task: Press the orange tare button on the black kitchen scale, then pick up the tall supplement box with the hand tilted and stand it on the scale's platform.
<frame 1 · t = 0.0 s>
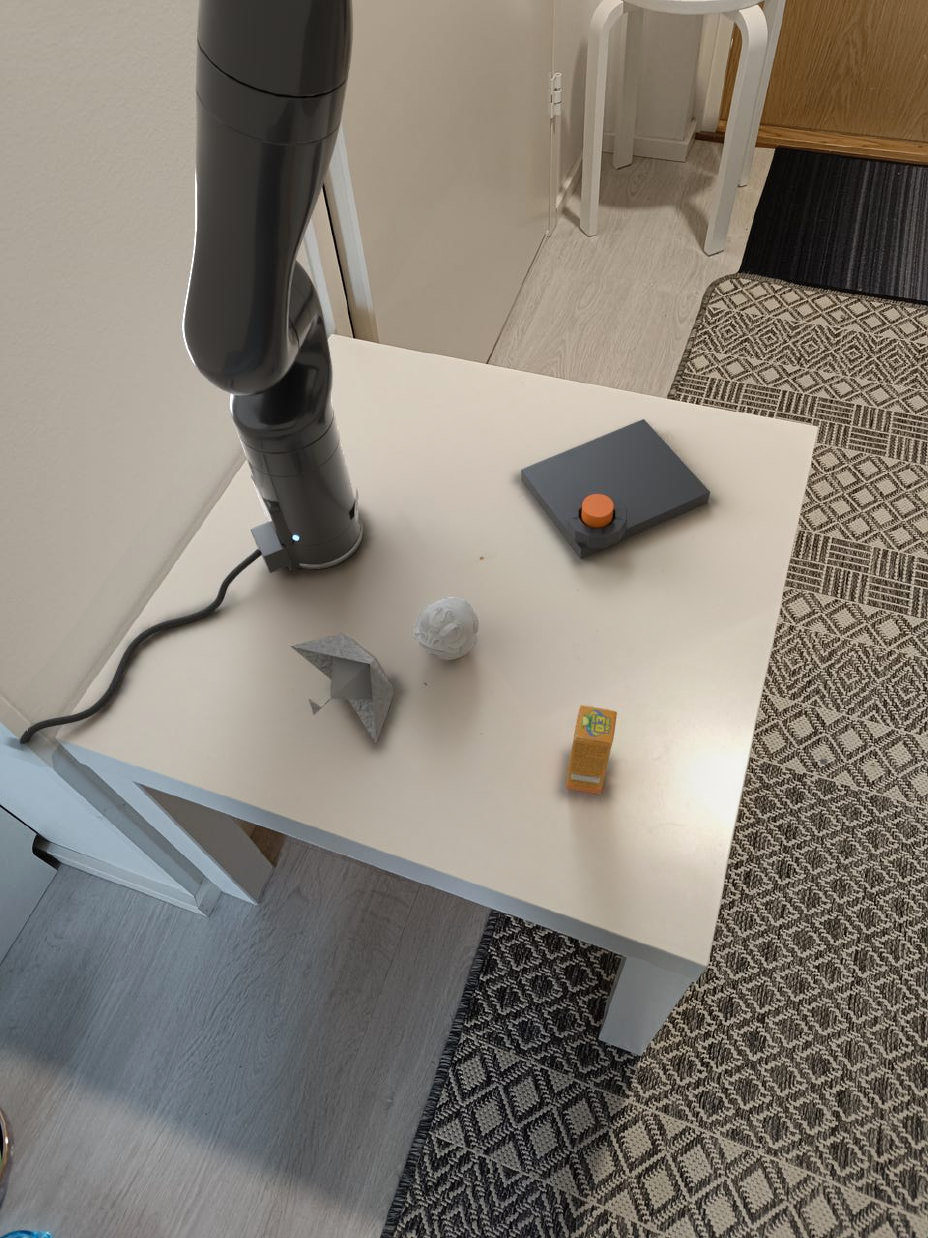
tare button: (597, 510, 93), point 4 cm above the table, slide at 0.1 cm
supplement box: (587, 777, 81), on the table
scale: (612, 491, 100), on the table
gray faceted winged figurine: (347, 697, 87), on the table
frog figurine: (449, 650, 89), on the table
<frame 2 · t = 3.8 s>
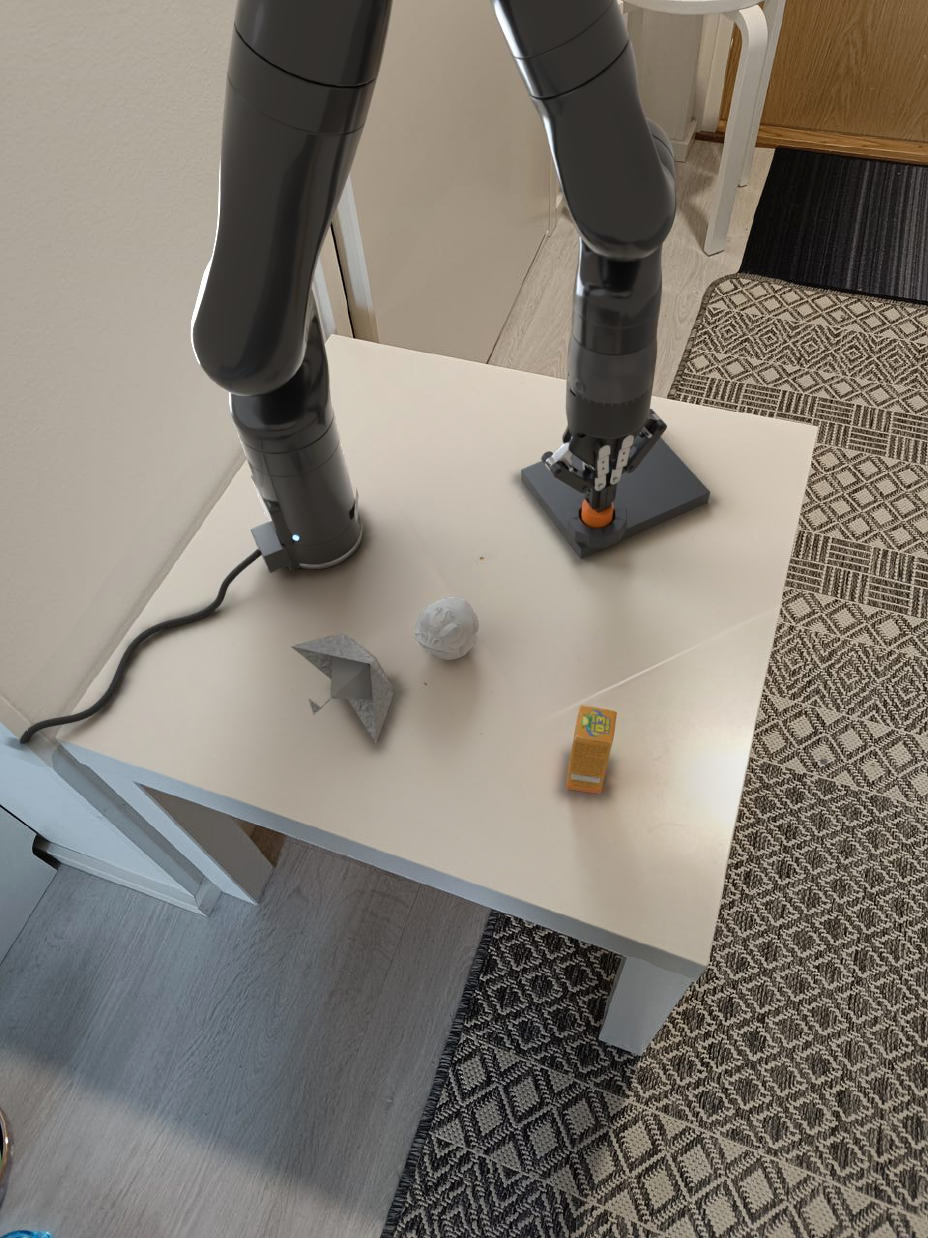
hand: (599, 504, 92), 5 cm above the table, tool pointing down, fingers closed
tare button: (597, 510, 93), point 4 cm above the table, slide at 0.1 cm, touching gripper
everything else where it was.
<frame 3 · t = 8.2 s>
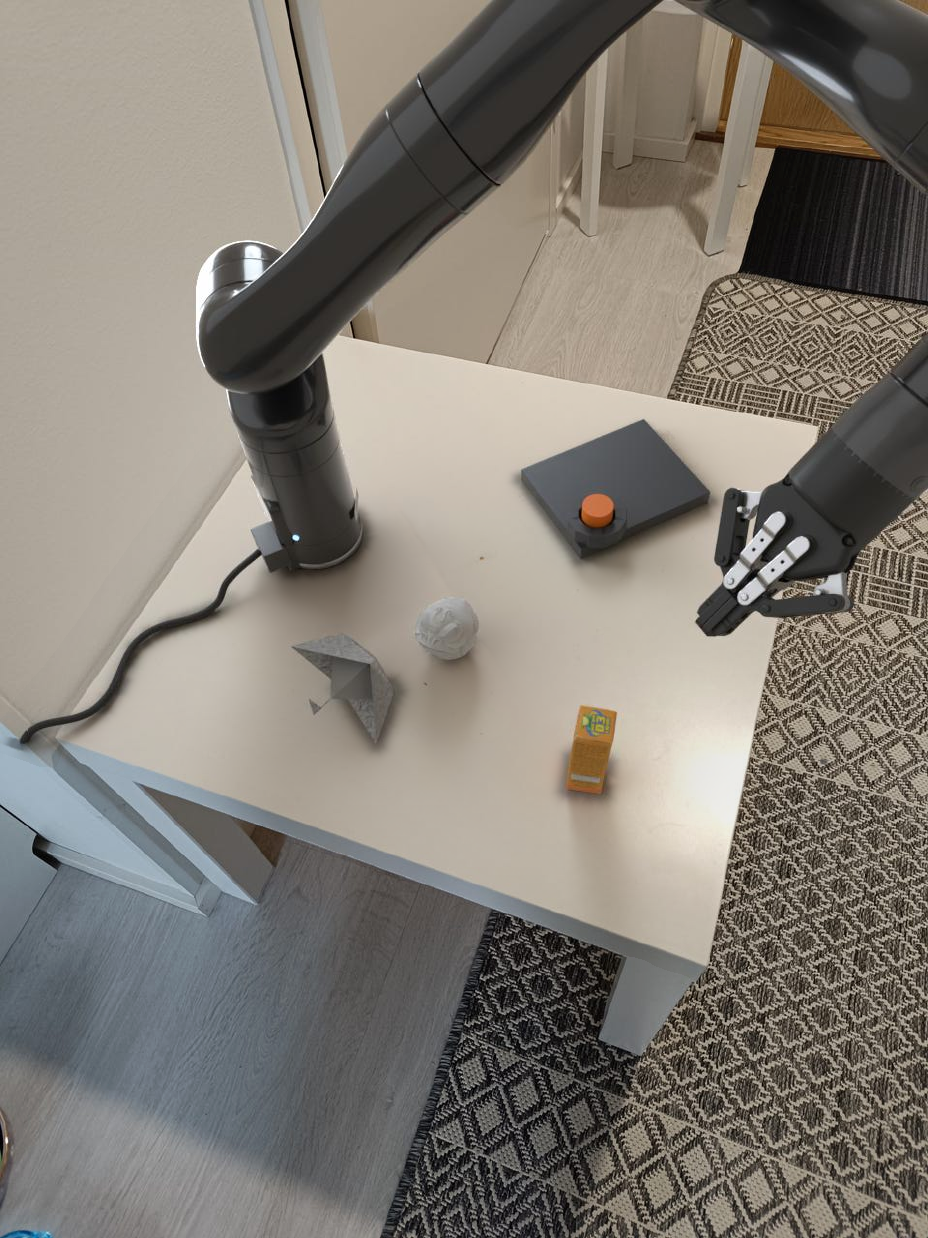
hand: (705, 629, 70), 16 cm above the table, tool tilted 40°, fingers closed
tare button: (597, 510, 93), point 4 cm above the table, slide at 0.1 cm
everything else where it was.
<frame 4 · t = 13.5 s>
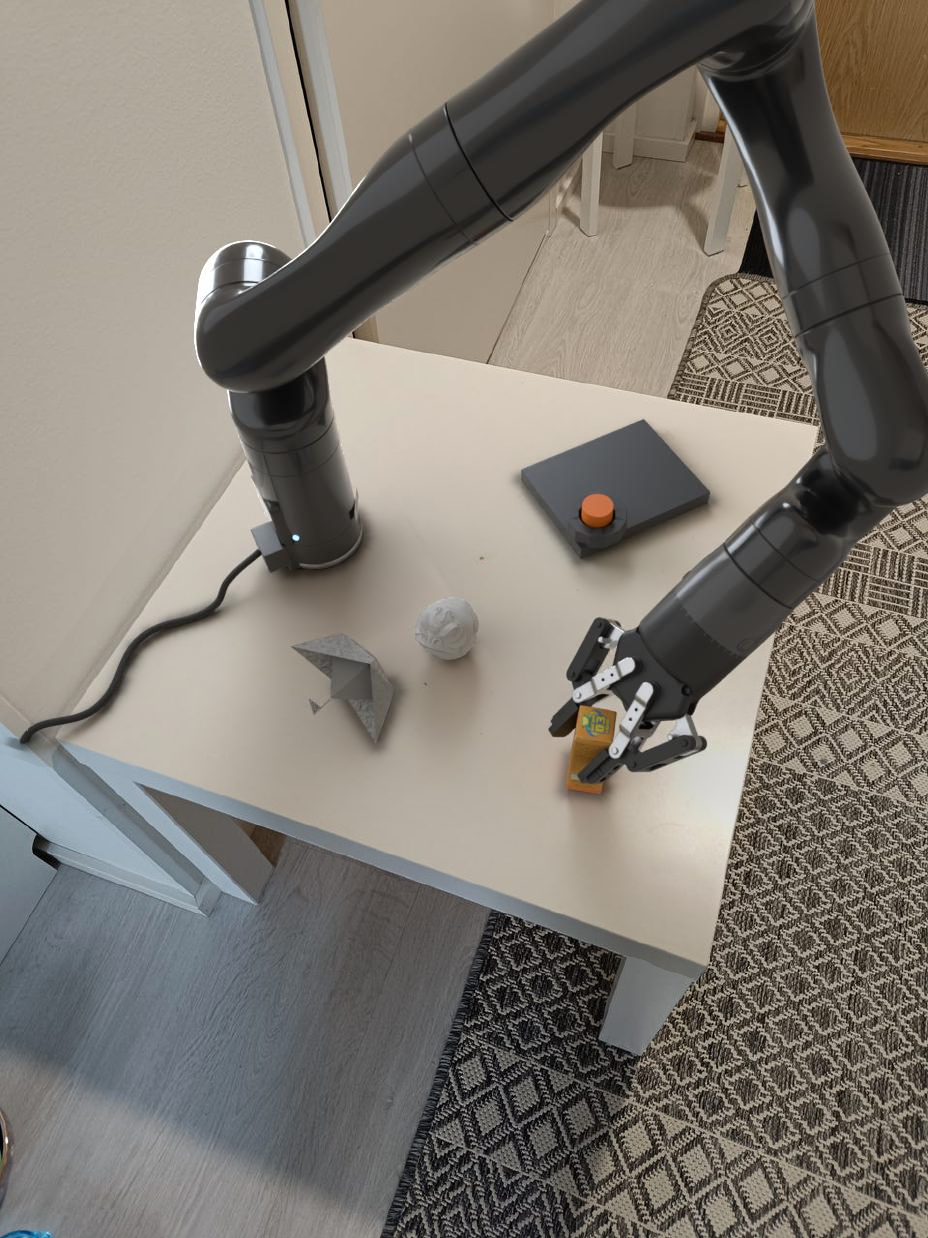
hand: (570, 755, 75), 6 cm above the table, tool tilted 45°, fingers closed on supplement box, 4 cm apart
supplement box: (587, 777, 81), on the table, touching gripper
everything else where it was.
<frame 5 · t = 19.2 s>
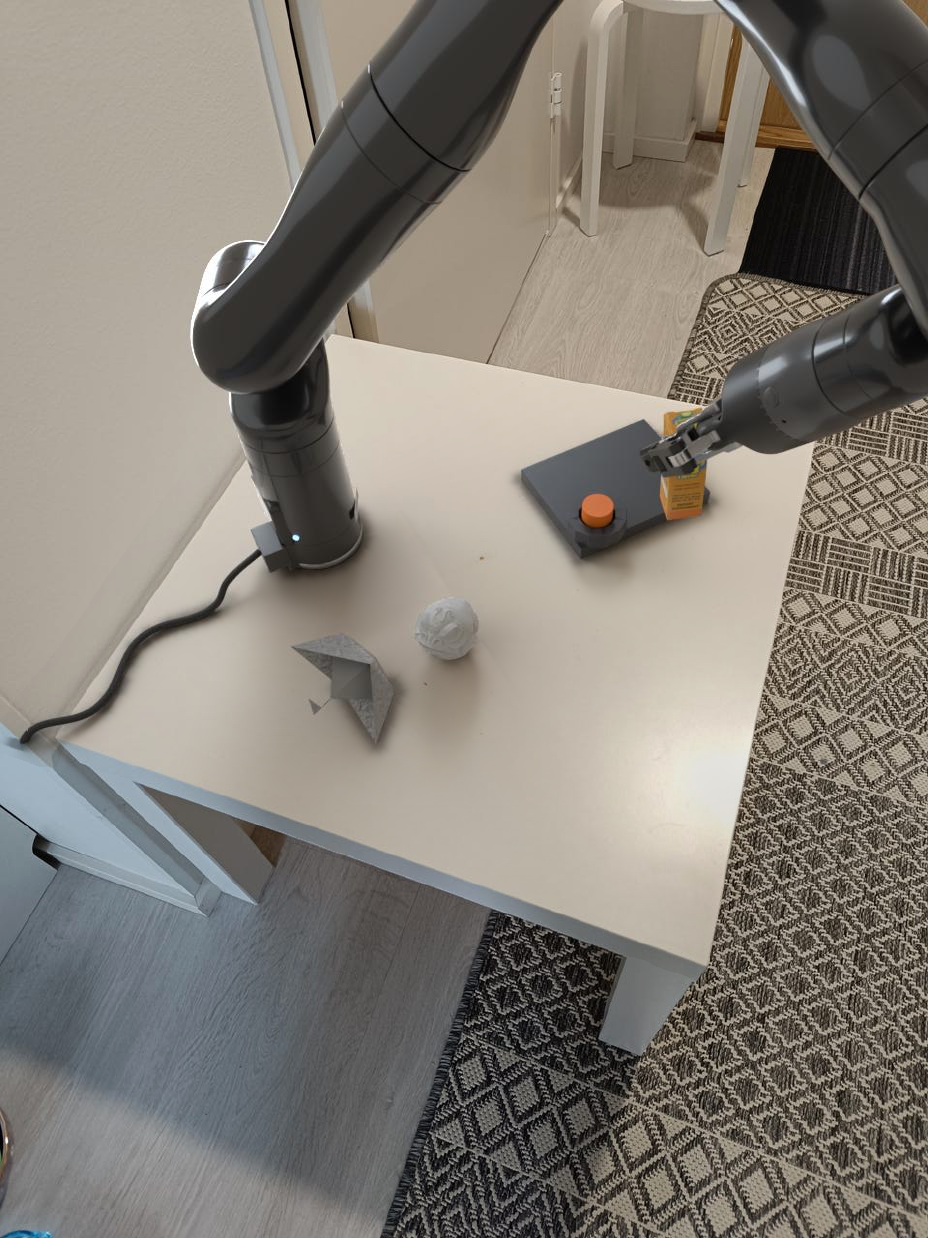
hand: (667, 445, 78), 18 cm above the table, tool tilted 40°, fingers closed on supplement box, 4 cm apart
supplement box: (681, 509, 81), point 12 cm above the table, touching gripper
everything else where it was.
when the fingers open (8 cm above the table, at t = 24.9 s): supplement box stays where it is, resting on scale.
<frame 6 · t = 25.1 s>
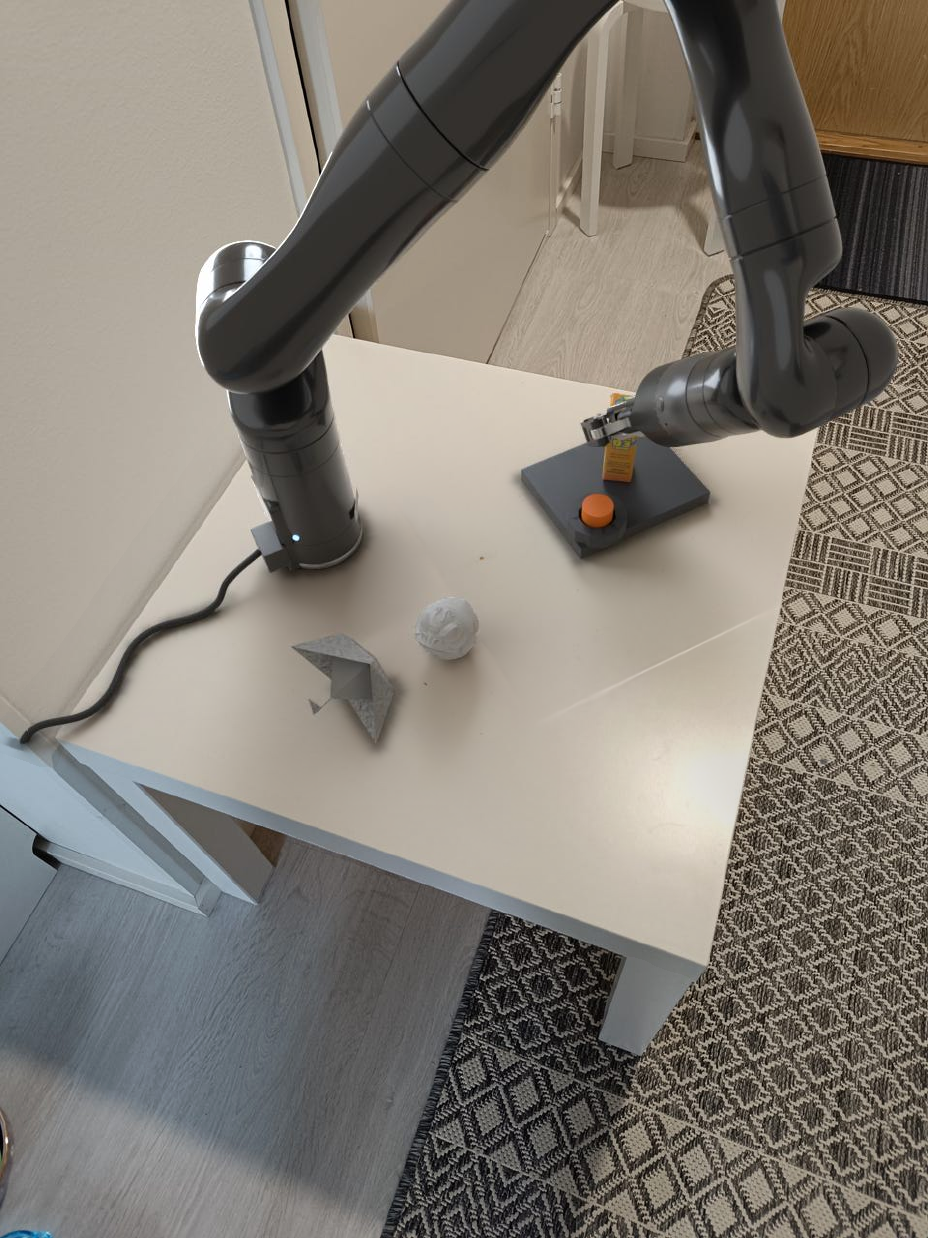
hand: (612, 419, 95), 8 cm above the table, tool tilted 45°, fingers open, 5 cm apart
supplement box: (617, 473, 99), point 2 cm above the table, touching scale
everything else where it was.
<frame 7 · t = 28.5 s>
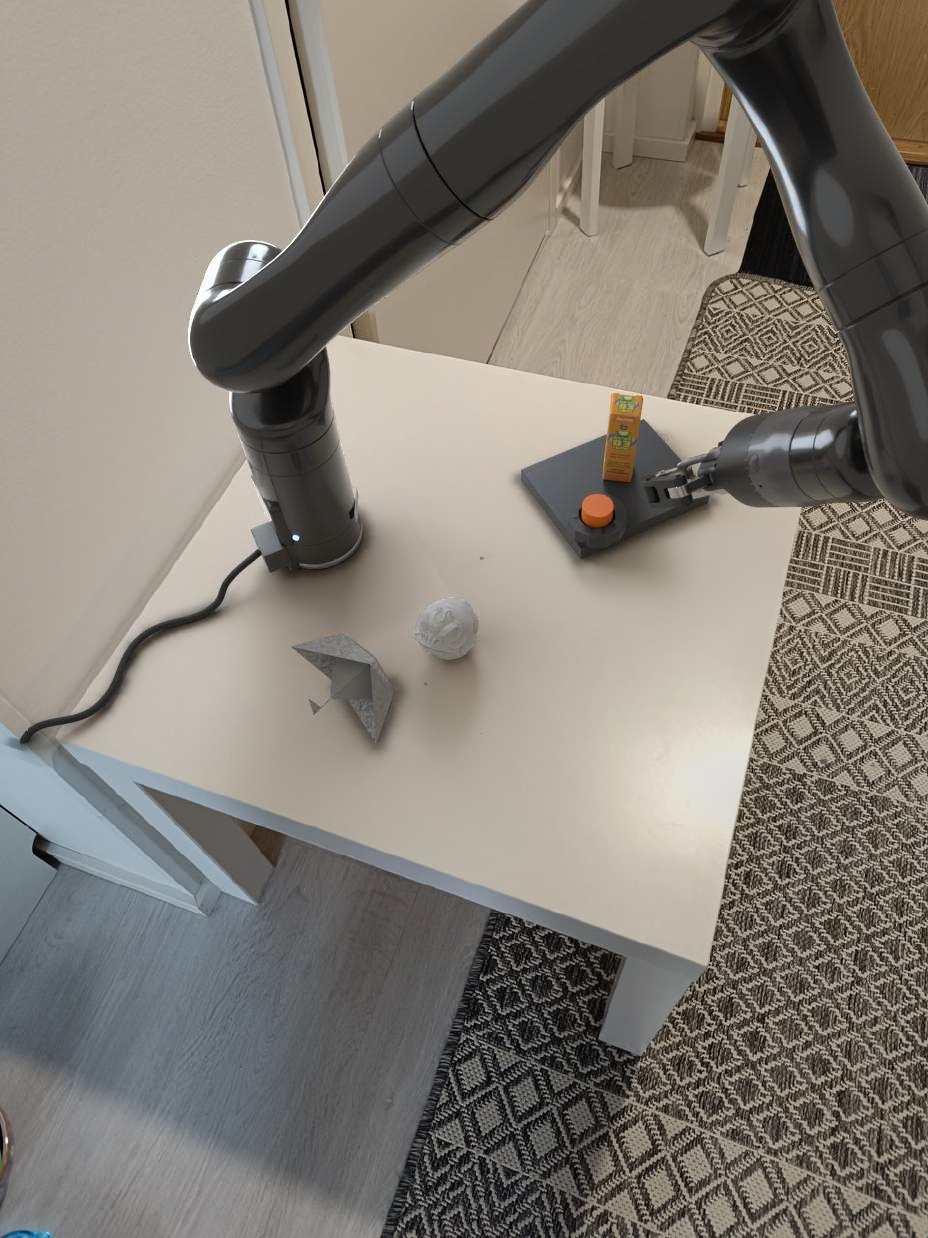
hand: (685, 468, 85), 12 cm above the table, tool tilted 45°, fingers open, 8 cm apart
nothing on the table moved.
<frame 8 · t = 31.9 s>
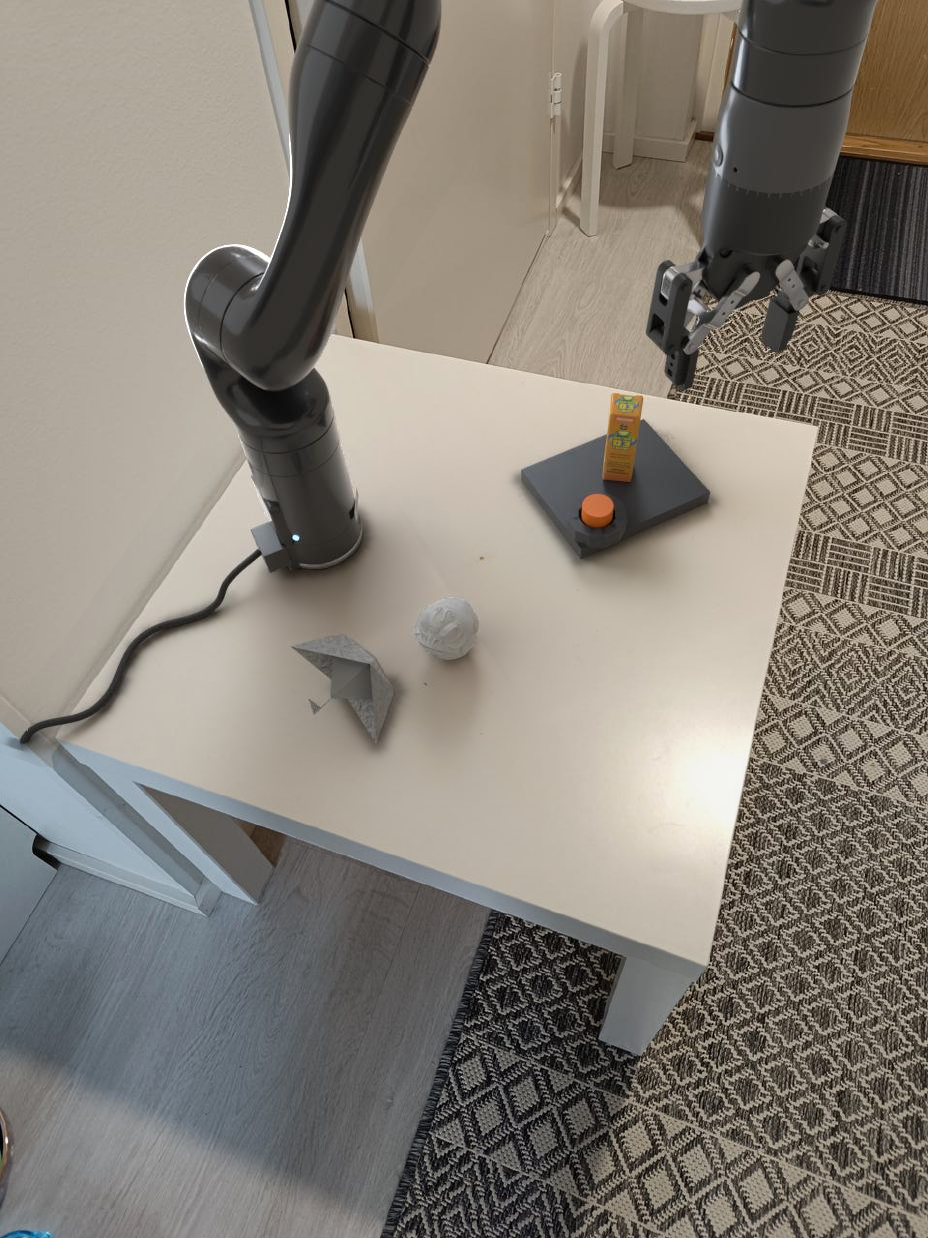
hand: (726, 364, 69), 28 cm above the table, tool pointing down, fingers open, 8 cm apart
nothing on the table moved.
at the end: tare button pushed in 1.2 cm at the most during the clip, back to where it started at the end; supplement box touching scale; supplement box inside the target area on the scale (1.1 cm from its centre), point 1.5 cm above the scale's base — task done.
